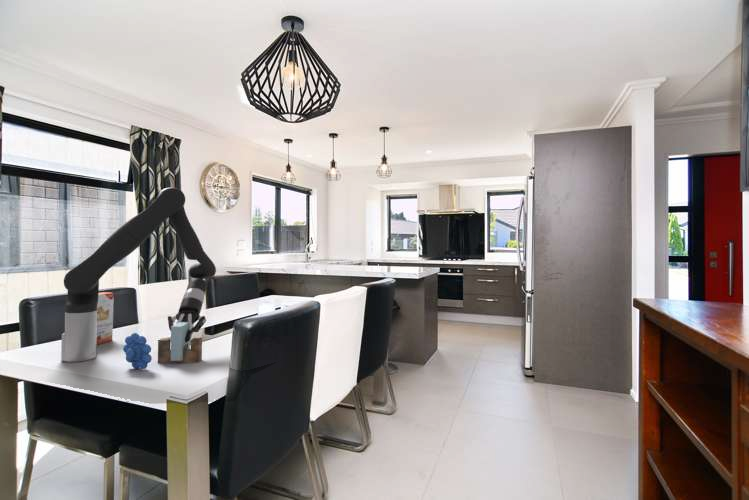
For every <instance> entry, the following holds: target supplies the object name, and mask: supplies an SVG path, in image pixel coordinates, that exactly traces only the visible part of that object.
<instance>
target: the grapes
mask: <svg viewBox="0 0 749 500" xmlns="http://www.w3.org/2000/svg"><path fill="white" fill-rule="evenodd" d="M147 341H148V340H147V338H146V337H145V336H143V335H140V334H138V333H137V332H133V333H131V334H130V335H129V336H128V335H127V336H126V337H125V338H124V342H125V343H124V346H122V350H123V352H124V353H125V361H126V362H128V363H129V364H130V363H131V368H133V369H135V370H138V369H140V370H146V369H147V368H148V364H149V363H151V362H152V360H153V357H152V355H151V354H150V353H151V352H152V347H151V345H149V344H148V343H147Z"/></svg>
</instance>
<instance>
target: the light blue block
mask: <svg viewBox="0 0 749 500" xmlns="http://www.w3.org/2000/svg"><path fill="white" fill-rule="evenodd" d="M176 323H177V322H176ZM176 323H174V325H173V326H171V331H170V349H171V361H181V360H183V349H191V340H190V341H188V342H185V336H186V333H187V331H188V326H189V322H179V323H177V324H176Z"/></svg>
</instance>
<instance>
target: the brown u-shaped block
mask: <svg viewBox="0 0 749 500" xmlns="http://www.w3.org/2000/svg"><path fill="white" fill-rule="evenodd" d="M201 361H203V338H202V337H193V338H191V339H190V349H183V360H181V361H171V337H170V338H167V337H166V338H165V337H164V338H163V337H161V338H160V339H158V340H157V363H158V364H163V363H165V364H167V363H169V364H171V363H173V364H174V363H175V364H176V363H177V364H179V363H180V364H181V363H200V362H201Z"/></svg>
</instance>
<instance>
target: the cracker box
mask: <svg viewBox="0 0 749 500" xmlns="http://www.w3.org/2000/svg"><path fill="white" fill-rule="evenodd" d="M114 299H115V292H108V291H107V292H106V291H105V292H104V291H103V292H99V294H98V304H97V342H96V345H98V344H99V345H100V344H103V343H107V342H111V341H113V329H114V303H115V300H114Z"/></svg>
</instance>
